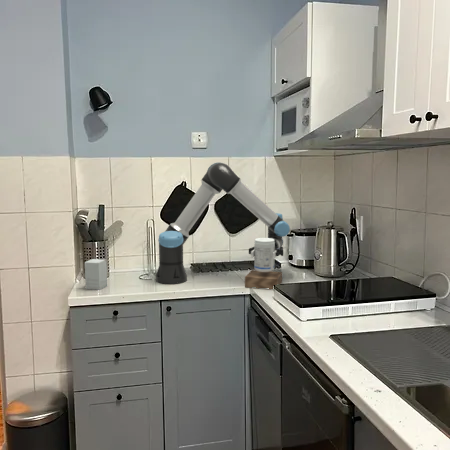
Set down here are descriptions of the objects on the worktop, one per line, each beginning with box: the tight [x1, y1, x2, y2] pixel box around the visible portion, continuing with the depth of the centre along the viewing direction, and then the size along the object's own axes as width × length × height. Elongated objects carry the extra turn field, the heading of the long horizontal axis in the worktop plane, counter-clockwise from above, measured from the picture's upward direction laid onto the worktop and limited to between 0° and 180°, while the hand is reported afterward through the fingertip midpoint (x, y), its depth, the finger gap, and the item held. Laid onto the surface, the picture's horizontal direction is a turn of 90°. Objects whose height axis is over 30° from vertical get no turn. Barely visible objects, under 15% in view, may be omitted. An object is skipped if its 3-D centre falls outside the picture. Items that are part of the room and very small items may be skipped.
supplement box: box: [84, 258, 108, 291], centre depth 214 cm, size 7×7×13 cm
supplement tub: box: [253, 237, 276, 272], centre depth 219 cm, size 10×10×15 cm
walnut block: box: [244, 269, 283, 290], centre depth 221 cm, size 15×14×5 cm
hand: (262, 255), depth 215 cm, fingers closed on supplement tub, 9 cm apart
